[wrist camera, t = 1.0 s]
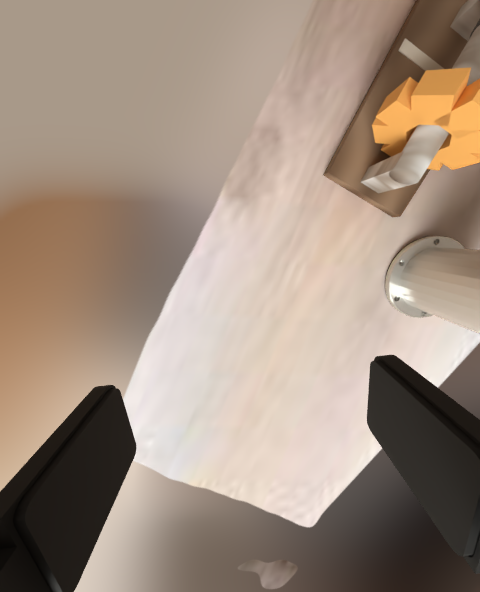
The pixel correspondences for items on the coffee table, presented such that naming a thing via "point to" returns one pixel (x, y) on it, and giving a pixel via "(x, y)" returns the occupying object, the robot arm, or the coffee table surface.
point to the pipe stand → (394, 71)
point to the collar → (434, 116)
